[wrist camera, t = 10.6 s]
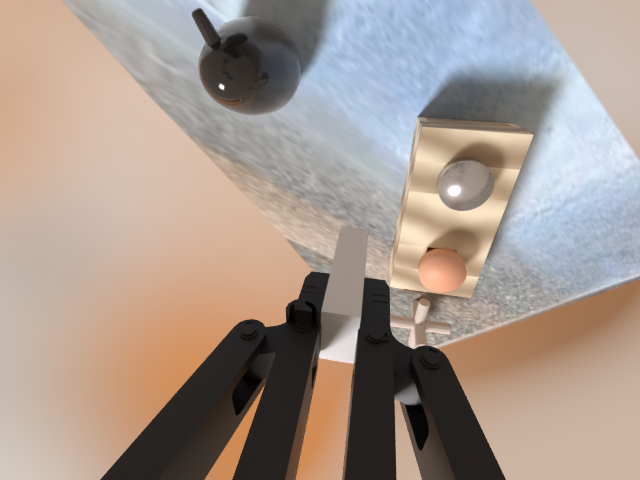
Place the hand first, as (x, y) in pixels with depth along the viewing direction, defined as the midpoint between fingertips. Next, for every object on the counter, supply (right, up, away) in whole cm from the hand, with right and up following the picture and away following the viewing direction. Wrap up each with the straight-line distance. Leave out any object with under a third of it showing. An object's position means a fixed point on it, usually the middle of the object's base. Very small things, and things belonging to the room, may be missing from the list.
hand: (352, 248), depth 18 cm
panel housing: (+16, +6, +29) cm, 34 cm away
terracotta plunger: (+16, 0, +31) cm, 35 cm away
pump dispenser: (-9, +23, +24) cm, 34 cm away
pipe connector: (+16, -11, +40) cm, 44 cm away
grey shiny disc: (+16, +10, +25) cm, 32 cm away
